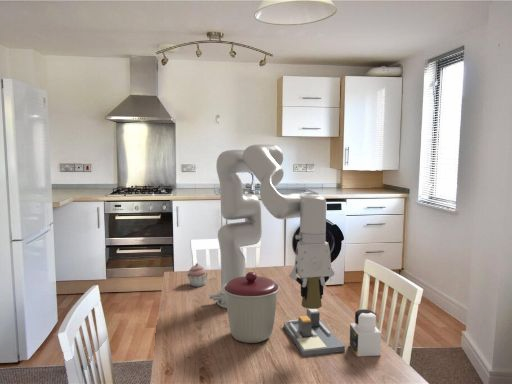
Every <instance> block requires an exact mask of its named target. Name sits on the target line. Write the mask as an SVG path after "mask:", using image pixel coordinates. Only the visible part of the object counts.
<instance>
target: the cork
mask: <svg viewBox="0 0 512 384" xmlns="http://www.w3.org/2000/svg"><path fill="white" fill-rule="evenodd" d="M319 280H320V277H313V278H307V283H306V287H307V288H308V291H307V300H305V296H304V297H302V298H301V306H302V307H303V308H306V309H317V310H318V309H320V308H322V306H323V305H322V304H323V303H322V299H321V298H320V288H319Z"/></svg>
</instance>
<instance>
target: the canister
mask: <svg viewBox="0 0 512 384" xmlns="http://www.w3.org/2000/svg"><path fill="white" fill-rule="evenodd" d="M223 290H224V292H225V295H226V304H227V308H226V309H227V311H226V312H227V318H228V326H229V330H230V333H231V335H232V337H233V338H234V339H235V340H237V341H239V342H242V343H246V344H256V343H261V342H264V341H266V340H268V339H269V337H270V336H271V334H272V333H273V329H274V324H275V317H276V309H277V299H278V292H279V291H280V285H279V284H278V283H277V282H276V281H274V280H272V279H271V278H268V277H264V276H261V275H260V276H259V275H257V273H255V272H253V271H249V272H247V273H245V276H244V277H238V278H235V279H232V280H230V281H229V282H227V283H226V284H224V286H223Z"/></svg>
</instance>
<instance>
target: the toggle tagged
mask: <svg viewBox="0 0 512 384" xmlns="http://www.w3.org/2000/svg"><path fill="white" fill-rule="evenodd" d="M297 320H298V332H299V333H300V334H301V336H302V337H307V336H312V322H311V320H310V318H309V317H308V316H307V315H299V316H298V319H297Z"/></svg>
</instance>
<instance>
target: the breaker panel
mask: <svg viewBox="0 0 512 384" xmlns="http://www.w3.org/2000/svg"><path fill="white" fill-rule="evenodd" d="M325 324H326V323H324V322H323V320H322V319H319V326H316V327H312V336H307V337H302V336H301V334H300V333H299V332H298V319H292V320H291V319H290V320H287V322H283V328H284V329H285V331H286V333H287V334H288V335H289V338H291V340H292V342H293V343H294V345H295V346H296V348H297V349H298V350H299V352H300V353H301V355H302V356H303V357H307V356H314V355H321V354H322V355H325V354H330V353H331V354H332V353H340V352H345V351H346V349H345V348H346V347H345V344H344V343H342V341H341V340H340V339H339V338H338V337H337V336H336V335H335V334H334V332H332V331H331V330H330V328H329V327H328V326H327V325H325Z"/></svg>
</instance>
